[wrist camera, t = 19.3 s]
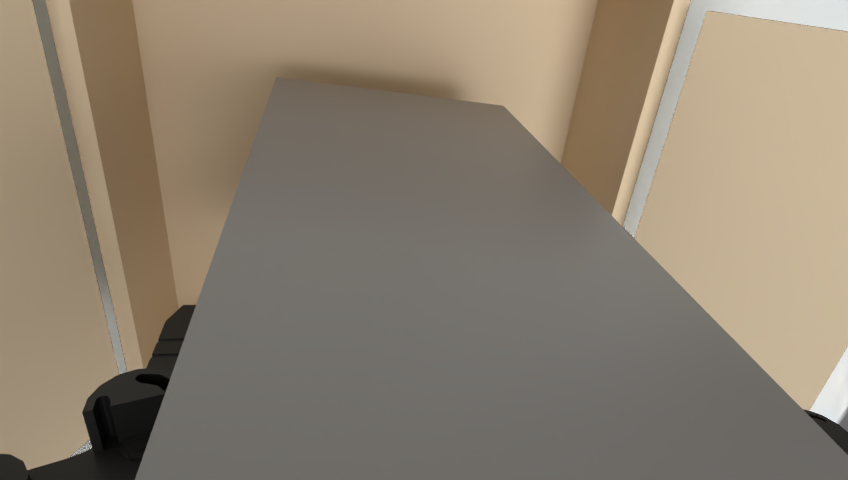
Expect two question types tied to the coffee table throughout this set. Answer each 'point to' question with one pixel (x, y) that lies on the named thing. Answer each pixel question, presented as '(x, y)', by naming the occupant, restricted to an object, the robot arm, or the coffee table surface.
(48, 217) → the flap
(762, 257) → the flap
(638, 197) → the coffee table surface
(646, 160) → the coffee table surface
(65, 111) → the coffee table surface
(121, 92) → the carton
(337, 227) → the perfume bottle
